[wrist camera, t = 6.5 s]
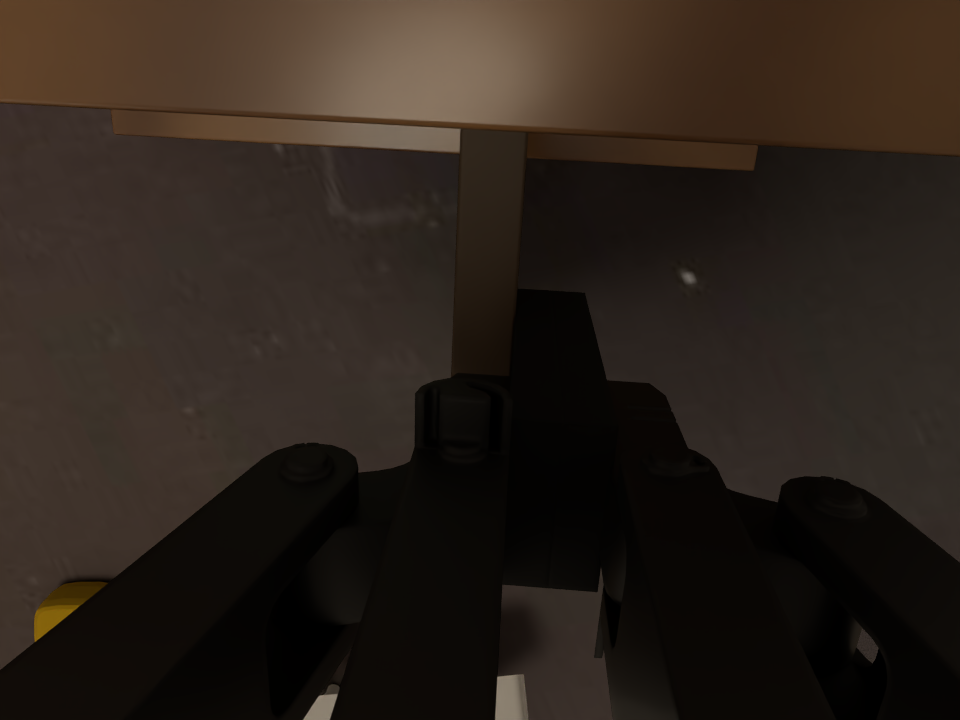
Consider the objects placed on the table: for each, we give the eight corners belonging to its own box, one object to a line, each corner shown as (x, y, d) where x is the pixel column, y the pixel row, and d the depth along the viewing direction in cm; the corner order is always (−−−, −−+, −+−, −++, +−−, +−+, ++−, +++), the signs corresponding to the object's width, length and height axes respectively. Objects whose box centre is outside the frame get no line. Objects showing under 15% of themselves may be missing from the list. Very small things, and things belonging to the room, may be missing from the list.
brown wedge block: (556, 57, 19) (583, 33, 9) (529, 394, 22) (528, 637, 13) (283, 43, 19) (27, 6, 9) (299, 377, 23) (124, 602, 13)
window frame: (780, -71, 19) (1337, -403, 6) (739, 165, 21) (1077, 304, 8) (112, -99, 20) (-709, -448, 7) (139, 131, 22) (-438, 207, 9)
